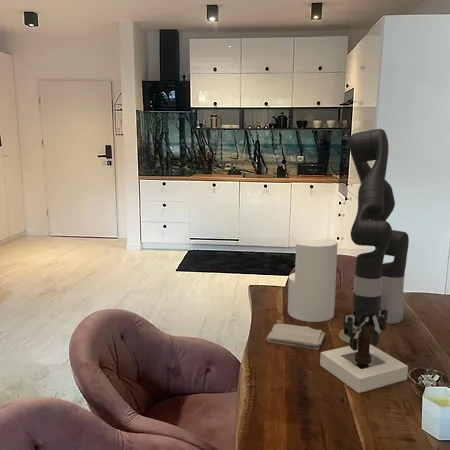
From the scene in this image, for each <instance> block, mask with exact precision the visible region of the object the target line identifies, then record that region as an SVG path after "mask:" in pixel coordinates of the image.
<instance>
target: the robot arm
mask: <svg viewBox="0 0 450 450" xmlns="http://www.w3.org/2000/svg"><path fill="white" fill-rule="evenodd" d="M348 147H349V152H350V156H351V158H352V161H353V164H354V167H355V169H356V172H357V175H358V179H359V183H360V185H359V187H358V192H357V198H358V199H357V212H356V216H355V219H354V221H353V224H352V226H351V229H350V238H351V241H352V243H354V244H355V245H357V246H364V247H365V246H367V247H374V248H375V249H373V250H372V251H369V252H363V253H360V254H358V255H356V259H355V273H354V274H355V275H354V280H353V289H352V294H353V295H352V307H353V312H352V314H349V315H348V314H344V315H343V329H344V334H345V335H347V336H348V337H350V343H348V344H349V345H348V346H350V348H351V349H352V350H354V351H356V350H357V349H358V338H357V337H358V335H359V333H360V332H362V327H363V326H365V325H367V324H371V323H374V324H375V332H371V336H370V345H372V346H374V347H376V346H378V345H379V341H380V334H381V332H382V331H385V330H386V329H387V324H389V325H391V324H392V325H393V324H395V325H396V324H400V323H401V321H404V311H405V299H406V298H405V297H406V295H405V293H404V286H405V272H406V267H407V260H408V259H407V258H408V251H409V242H410V239H409V238H410V237H409V235H408V233H407V232H405V231H401V230H395V229H393V228H392V225H391V224H390V223H389V221H387V220H388V219H389V217H390V215H391V214H392V212H393V211H394V209H395V206H396V201H395V196H394V195H395V194H394V192H393V188H392V186H391V184H390V183H389V182H388V181H387V179H386V173H387V166H388V159H389V148H390V147H389V140H388V135H387V133H386V131H385V129H382V128H376V129H371V130H364V131H359V132H355V133H352V134H351V135H349V138H348ZM371 161H372V162H373V161H374V163H373V166H372V167H371V166H370V164H369V163H368V162H371ZM385 256H390V257H393V260H392V261H391V262H384V258H385ZM356 323H357V324H359V325H360V326H359V327H356ZM355 330H356V332H355V333H354V331H355Z"/></svg>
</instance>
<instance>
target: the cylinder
mask: <svg viewBox="0 0 450 450" xmlns="http://www.w3.org/2000/svg"><path fill="white" fill-rule="evenodd" d="M338 243H339V242H338V240H336V239H335V238H331V237H329V238H322V239H317V240H311V241H306V242H299V243H296V244H295V265H294V266H295V267H294V272H292V273H291V274H289V276H288V289H287V290H288V292H287V314H288V315H289V316H290V317H291V318H293V319H296V320H299V321H303V322H309V323H310V322H311V323H315V322H316V323H318V322H326V321H329V320H331V319H333V318H334V316H335V303H336V286H337V285H336V283H337V280H336V279H337V264H338V262H337V261H338Z"/></svg>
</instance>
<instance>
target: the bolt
mask: <svg viewBox="0 0 450 450" xmlns="http://www.w3.org/2000/svg"><path fill="white" fill-rule="evenodd" d="M359 326H360V325H359V324H357V323H356V327H359ZM371 332H375V324H374V323H371V324H367V325H365V326H363V327H362V332H360V333H359V338H358V352H357V353H355V361H356V362H357V364H356V366H357V367H359V368H360V369H365V368H368V367H369V365H368V364H370V363H371V355H370V354H369V348H370V345H371Z"/></svg>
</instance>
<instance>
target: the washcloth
mask: <svg viewBox="0 0 450 450" xmlns="http://www.w3.org/2000/svg"><path fill="white" fill-rule="evenodd" d="M325 334H326V333H325V332H323V331H322V329H314V328H312V327H310V326H302V325H296V324H287V323H275V324H274V325H272V328H271V331H270V332H269V334H268V335H267V336H266V343H271V344H277V345H285V346H290V347H291V346H292V347H297V348H304V349H311V350H316V351H319V349H320V348H321V347H322V344H323V341H324V338H325Z"/></svg>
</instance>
